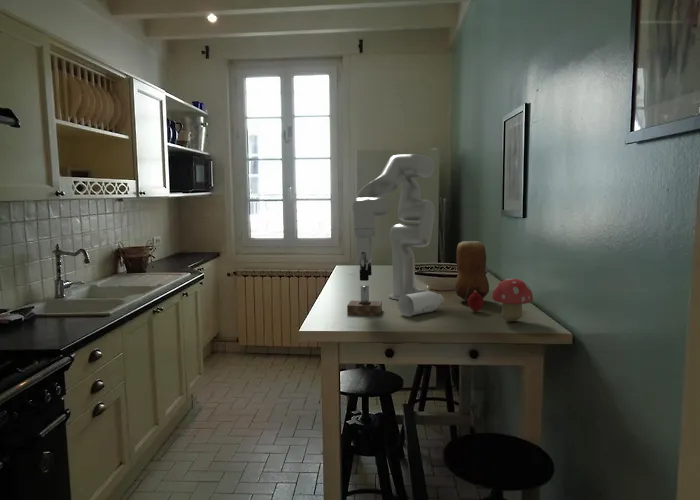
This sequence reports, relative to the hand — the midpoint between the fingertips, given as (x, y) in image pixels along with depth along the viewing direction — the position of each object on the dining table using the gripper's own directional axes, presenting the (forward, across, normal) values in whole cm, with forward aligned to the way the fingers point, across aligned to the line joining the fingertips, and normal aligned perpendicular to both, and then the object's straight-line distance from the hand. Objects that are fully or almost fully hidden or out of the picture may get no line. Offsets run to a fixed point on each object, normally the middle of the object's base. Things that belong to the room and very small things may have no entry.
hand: (365, 277), depth 195 cm
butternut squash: (+15, -23, +40) cm, 49 cm away
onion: (+14, -4, +40) cm, 43 cm away
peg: (+13, +1, -1) cm, 13 cm away
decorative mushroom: (+14, +10, +51) cm, 54 cm away
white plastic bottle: (+14, 0, +20) cm, 24 cm away
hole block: (+13, +1, -1) cm, 13 cm away
